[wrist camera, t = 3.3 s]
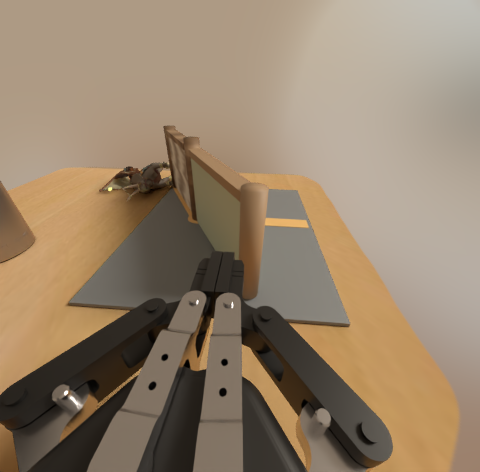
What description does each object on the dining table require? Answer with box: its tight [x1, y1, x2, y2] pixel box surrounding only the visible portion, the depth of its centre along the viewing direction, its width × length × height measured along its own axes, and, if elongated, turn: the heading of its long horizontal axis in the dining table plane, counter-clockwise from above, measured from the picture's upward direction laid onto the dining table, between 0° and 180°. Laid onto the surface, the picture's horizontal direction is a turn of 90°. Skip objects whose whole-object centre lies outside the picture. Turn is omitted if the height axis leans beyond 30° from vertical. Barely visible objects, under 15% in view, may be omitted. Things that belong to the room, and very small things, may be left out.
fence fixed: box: [164, 126, 200, 221], centre depth 43 cm, size 20×2×14 cm, turn 26°
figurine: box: [99, 162, 173, 201], centre depth 53 cm, size 20×6×17 cm
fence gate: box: [188, 148, 269, 299], centre depth 28 cm, size 20×2×13 cm, turn 26°
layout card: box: [69, 186, 350, 327], centre depth 39 cm, size 31×37×1 cm
